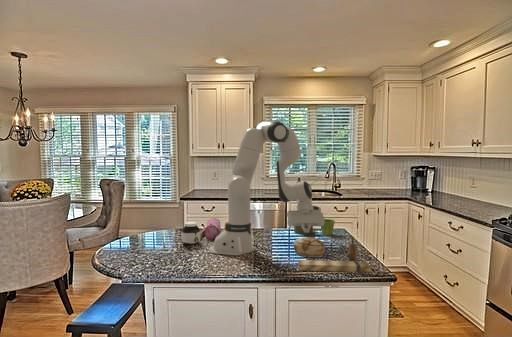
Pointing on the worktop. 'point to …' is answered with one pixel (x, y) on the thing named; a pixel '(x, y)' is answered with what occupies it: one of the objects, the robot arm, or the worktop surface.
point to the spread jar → (190, 233)
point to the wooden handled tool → (352, 251)
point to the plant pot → (328, 227)
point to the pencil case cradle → (204, 232)
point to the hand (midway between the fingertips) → (306, 231)
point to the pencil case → (212, 228)
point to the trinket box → (309, 247)
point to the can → (300, 231)
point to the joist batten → (334, 266)
